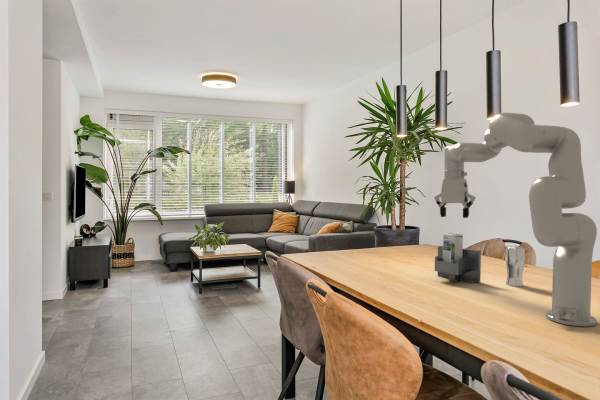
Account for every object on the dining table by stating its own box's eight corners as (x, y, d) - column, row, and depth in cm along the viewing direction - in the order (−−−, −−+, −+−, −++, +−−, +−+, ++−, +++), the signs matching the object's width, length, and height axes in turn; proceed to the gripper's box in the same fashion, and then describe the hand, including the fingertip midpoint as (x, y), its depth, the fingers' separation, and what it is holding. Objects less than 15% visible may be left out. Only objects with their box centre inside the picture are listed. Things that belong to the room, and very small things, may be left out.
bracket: (467, 286, 162) (468, 253, 161) (426, 278, 175) (426, 248, 174) (480, 282, 169) (480, 250, 169) (439, 275, 182) (440, 245, 182)
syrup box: (441, 267, 173) (442, 233, 172) (451, 266, 175) (452, 232, 175) (452, 270, 168) (453, 234, 167) (462, 268, 170) (463, 233, 170)
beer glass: (526, 287, 161) (527, 249, 160) (507, 286, 162) (508, 248, 162) (521, 283, 168) (521, 246, 167) (502, 282, 169) (503, 245, 168)
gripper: (479, 175, 166) (479, 217, 166) (439, 176, 179) (439, 216, 179) (470, 174, 161) (470, 218, 161) (430, 176, 174) (430, 216, 174)
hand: (454, 217), depth 170 cm, fingers open, 9 cm apart
